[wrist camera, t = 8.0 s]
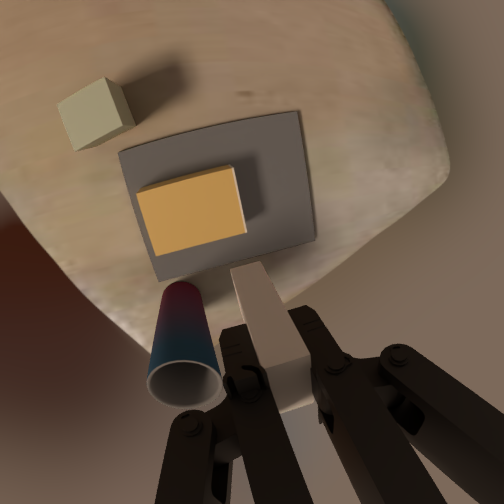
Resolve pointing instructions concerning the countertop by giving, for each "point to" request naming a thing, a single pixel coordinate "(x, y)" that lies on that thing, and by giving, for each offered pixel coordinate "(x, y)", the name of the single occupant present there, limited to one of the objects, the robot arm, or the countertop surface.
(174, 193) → the ochre slab
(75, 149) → the sage block
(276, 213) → the mat
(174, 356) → the cup
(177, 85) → the countertop surface
